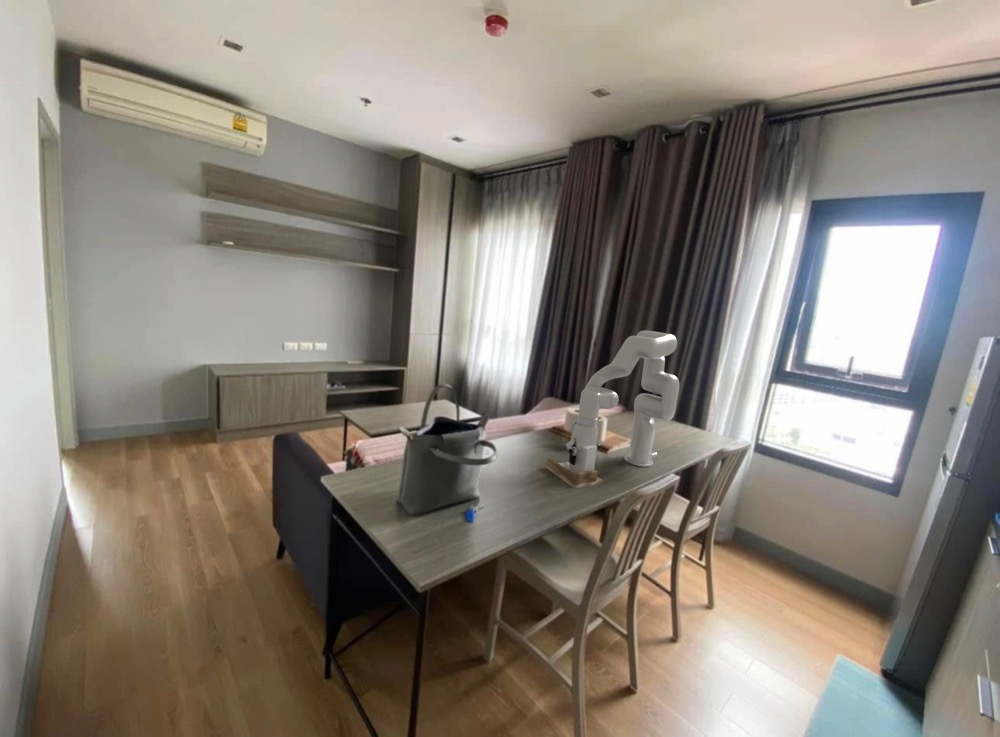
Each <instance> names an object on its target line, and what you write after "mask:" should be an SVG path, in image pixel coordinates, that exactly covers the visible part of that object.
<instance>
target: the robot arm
mask: <svg viewBox="0 0 1000 737" xmlns="http://www.w3.org/2000/svg"><path fill="white" fill-rule="evenodd" d="M677 345H678V340H677V338H676V336H675V335H674V334H671V333H665V332H660V331H653V330H641V331H638V332H637V334H636V335H631V336H628V337H627V338H626V339H625V341H624V342H623V343H622V345H621V347H620V348H619V350H618V352H617V353H616V355H615V357H614V358H613V360H612V362H611V363H610V364H607V365H605V366H603V367H602V368H601V369H599V370H598V371H596V372H595V373H594V374H593V375H592V376H591V377H590V378H589V380H588V382H587V384H586V385H585V387H584V389H583V390H581V393H580V399H579V406H578V415H577V423H576V424H575V426H574V429H573V432H572V431H571V438H570V440H569V441H568V442H567V443H565V447H566V451H567V452H568V454H569V457H568V462H569V463H570V464H572V465H575V462H576V455H575V454H576V453H577V452H578V451H581V450H582V448H583V447H587V446H597V452H596V454H597V453H598V450H599V449H600V446H601V445H602V444H603V443H602V442H603V441H602V440H601V439H599V438H598V437H599V427H598V421H599V420H600V418H599V413H600V409H605V410H610V409H611V410H612V409H614V408H615V407H616V406H617V405H618V403H619V395H618V394H617V392H615V391H614V390H612V389H609V388H605V387H603V385H604V384H605V383H607V382H608V381H611V380H614V379H618V378H624V377H628V376H629V375H630V374H632V371H633V370H634V368H635V366H636V365H637V364H638V362H639V360H640V359H641V358H642V359H644V360H643V368H642V374H641V380H640V381H641V382H640V383H641V388H642V389H643V390H645V391H648V392H649V393H639V394H638V395H637V396H636V397H635V398H634V402H633V403H634V404H633V412H634V414H633V415H634V416H633V424H632V431H631V438H630V443H629V448H628V449H629V450H628V453H626V454H625V455H624V457H623V458H624V461H626V462H627V463H629V464H630V465H634V466H636V467H643V468H644V467H645V468H647V467H652V466H654V460H653V458H655V457H658V452H655V451H654V452H652V450H653V445H654V439H655V434H656V421H655V420H660V421H663V422H669V421H671V420H672V419H673V418H674V416H675V414H676V409H677V403H678V399H679V398H678V397H679V392H680V381H679V378H678V377H677V376H676V375H674V374H671V373H668V372H665V363H666V359H665V357H668V356H669V355H671V354H672V353H674V352H675V350H676V349H677V347H678V346H677ZM650 392H651V393H653V394H650ZM654 394H658V395H661V396H658V395H654ZM571 447H572V448H571ZM574 449H575V450H574ZM573 450H574V452H573Z"/></svg>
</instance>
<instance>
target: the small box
mask: <svg viewBox="0 0 1000 737" xmlns="http://www.w3.org/2000/svg"><path fill="white" fill-rule="evenodd" d="M571 448H572V447H571ZM574 450H575V449H574ZM574 450H573V452H574ZM596 452H597V453H598V450H597V446H587V447H583V448H582V450H581V451H578V452H577V453H576V454H575V455H576V462H575V465H572V464H570V463H569V468H568V470H569V471H571V472H572V473H574V474H575V475H577V473H579V472H585V471H591V470H595V465H596V457H597V453H596Z"/></svg>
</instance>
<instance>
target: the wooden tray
mask: <svg viewBox="0 0 1000 737" xmlns="http://www.w3.org/2000/svg"><path fill="white" fill-rule="evenodd" d="M545 464H546V465H545V468H546V469H547V470H548V471H550V472H551V473H553V474H554V475H555V476H556V477H558V478H560V479H561V480H563V481H564V482H566V483H567V484H568V485H569V486H571V487H572V488H573V489H578V488H585V487H588V486H589V487H590V486H594V485H601V484H603V483H604V479H602V478H600V477H599V476H598V473H599V471H598V470H597V469H594V470H591V471H585V472H579V473H577V475H575V474H574V473H572V472H571V471H569V470H568V468H569V461H566V462H565V461H564V462H557V461H556V460H554V459H553V458H551V457H547V458H546V463H545Z"/></svg>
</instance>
